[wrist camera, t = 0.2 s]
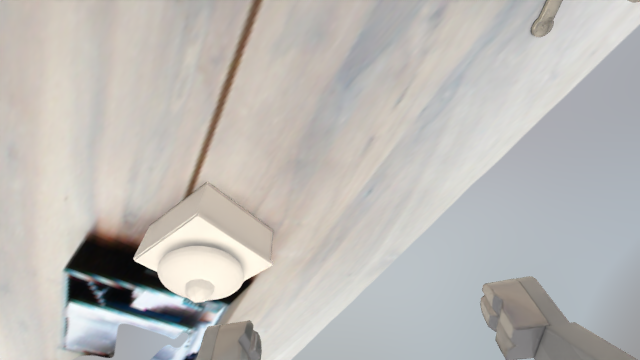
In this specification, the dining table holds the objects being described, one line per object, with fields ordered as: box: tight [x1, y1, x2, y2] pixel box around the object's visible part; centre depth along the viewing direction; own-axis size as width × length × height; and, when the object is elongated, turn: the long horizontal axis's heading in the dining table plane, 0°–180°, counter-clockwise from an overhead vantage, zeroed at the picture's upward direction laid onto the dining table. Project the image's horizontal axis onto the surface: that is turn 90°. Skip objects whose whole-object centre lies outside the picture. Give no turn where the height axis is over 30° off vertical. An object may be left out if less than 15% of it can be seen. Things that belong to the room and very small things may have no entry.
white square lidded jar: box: [133, 182, 273, 303], centre depth 57 cm, size 18×18×16 cm
